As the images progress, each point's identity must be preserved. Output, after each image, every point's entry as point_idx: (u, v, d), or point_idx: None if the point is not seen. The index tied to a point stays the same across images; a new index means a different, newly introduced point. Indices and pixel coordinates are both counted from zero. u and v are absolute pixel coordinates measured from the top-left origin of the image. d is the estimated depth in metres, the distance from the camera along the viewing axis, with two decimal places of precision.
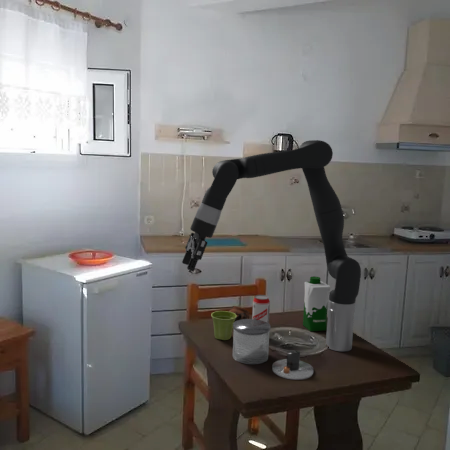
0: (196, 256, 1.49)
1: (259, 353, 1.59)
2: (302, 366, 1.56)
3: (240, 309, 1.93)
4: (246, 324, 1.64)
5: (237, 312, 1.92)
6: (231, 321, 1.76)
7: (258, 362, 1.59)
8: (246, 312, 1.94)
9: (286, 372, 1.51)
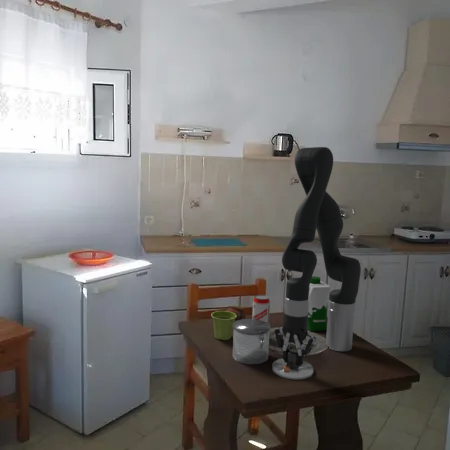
0: (307, 353, 1.51)
1: (259, 353, 1.59)
2: (301, 365, 1.56)
3: (236, 309, 1.93)
4: (246, 324, 1.64)
5: (233, 312, 1.92)
6: (231, 321, 1.76)
7: (258, 362, 1.59)
8: (242, 312, 1.94)
9: (286, 371, 1.51)
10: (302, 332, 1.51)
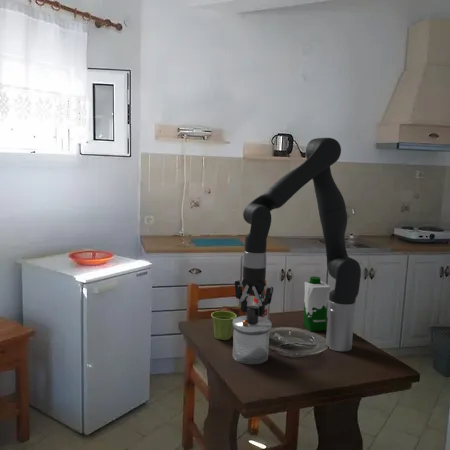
0: (268, 303, 1.58)
1: (259, 353, 1.59)
2: (261, 321, 1.64)
3: (231, 309, 1.93)
4: None
5: None
6: (231, 321, 1.76)
7: (258, 362, 1.59)
8: (237, 312, 1.93)
9: (245, 325, 1.58)
10: (259, 283, 1.58)
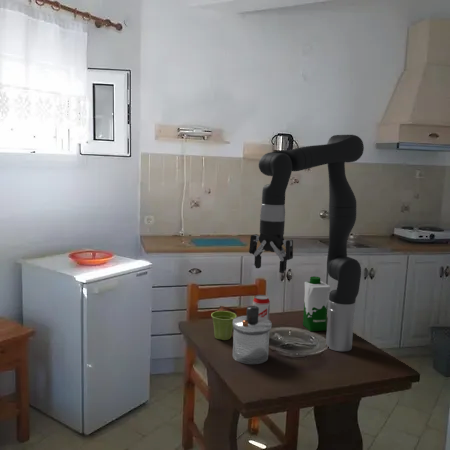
0: (290, 257, 1.47)
1: (259, 353, 1.59)
2: (261, 321, 1.64)
3: (228, 309, 1.93)
4: None
5: None
6: (231, 321, 1.76)
7: (258, 362, 1.59)
8: (234, 312, 1.93)
9: (245, 325, 1.58)
10: (277, 238, 1.48)
